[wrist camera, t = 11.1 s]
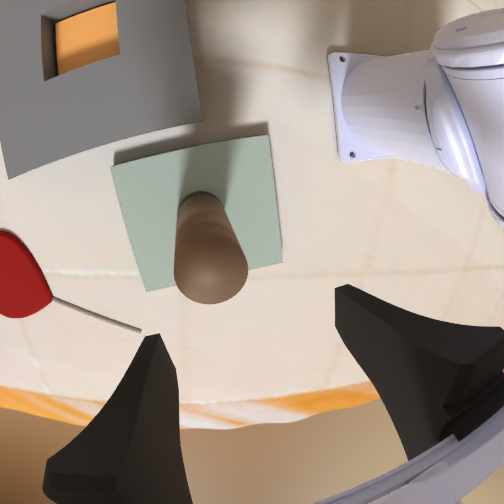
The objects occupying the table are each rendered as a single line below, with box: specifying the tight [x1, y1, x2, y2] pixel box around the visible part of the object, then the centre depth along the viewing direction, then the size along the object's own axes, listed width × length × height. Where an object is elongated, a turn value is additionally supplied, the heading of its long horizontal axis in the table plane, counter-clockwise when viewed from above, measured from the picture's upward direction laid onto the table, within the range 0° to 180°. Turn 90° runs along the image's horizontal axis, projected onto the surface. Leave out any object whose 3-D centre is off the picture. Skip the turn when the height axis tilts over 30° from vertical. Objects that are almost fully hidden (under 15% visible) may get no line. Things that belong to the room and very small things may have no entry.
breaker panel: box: [0, 0, 203, 179], centre depth 12 cm, size 12×14×4 cm
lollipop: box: [0, 231, 141, 334], centre depth 20 cm, size 8×1×15 cm
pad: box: [110, 135, 283, 292], centre depth 20 cm, size 10×9×1 cm
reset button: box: [55, 2, 120, 75], centre depth 13 cm, size 4×4×1 cm
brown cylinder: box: [174, 191, 248, 304], centre depth 16 cm, size 3×3×8 cm
